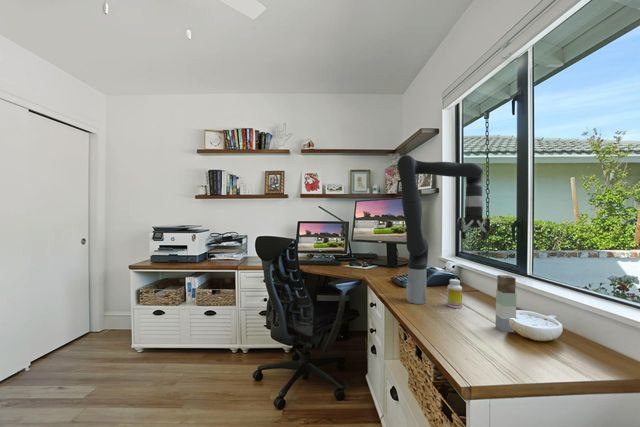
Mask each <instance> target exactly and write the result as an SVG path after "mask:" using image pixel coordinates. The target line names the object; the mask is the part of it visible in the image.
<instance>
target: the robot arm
mask: <svg viewBox="0 0 640 427" xmlns="http://www.w3.org/2000/svg"><path fill="white" fill-rule="evenodd" d="M396 166H397V171H398V175H399V179H400V186H401V189H400V190H401V203H402V210H403V217H404V224H405V228H406V232H405V233H406V234H405V235H406V249H407V251H408V253H409V255H408V256H409V257H408V261H407V281H406V291H405V292H406V296H405V297H406V298H405V299H406V301H407V303H409V304H410V303H411V304H414V305H425V304H426V303H427V271H428V270H427V268H428V267H427V266H428V261H429V260H428V259H429V257H428V256H429V244H428V242H427V240H426V239H425V238H424V237H423V233H422V232H423V231H422V216H423V209H422V208H423V207H422V201H421V200H422V199H421V196H420V191H419V187H418V184H417V180H416V175H430V176H431V175H432V176H442V177H450V178H458V177H462V178H465V182H466V183H465V184H466V187H465V200H464V218H462V217H457V223H456V231H459V232H460V238H461V240H463V241H465V240H467V238H466V231H467V230H468V228H478V229H479V230H480V240H481V241H485V240H486V236H487V235H486V233H487V232H490V231H491V219H490V218H488V217H487V218H484V217H483V211H484V210H483V208H484V204H483V203H484V200H483V199H484V198H483V186H482V183H483V182H482V181H483V180H482V179H483V172H484V167H483V166H482V165H481V164H479V163H476V162H461V163H460V162H454V161H453V162H452V161H451V162H450V161H432V162H429V161H421V160H416V159H414V157H412V156H411V155H407V154H406V155H402V156H401V157H400V158H399V159H398V161H397V164H396ZM462 223H464V224H462ZM482 223H484V225H483V224H482ZM462 225H463V226H462Z"/></svg>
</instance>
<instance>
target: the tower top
mask: <svg viewBox="0 0 640 427" xmlns="http://www.w3.org/2000/svg"><path fill="white" fill-rule="evenodd" d="M495 294H496V295H495V300H496V301H495V303H496V302H497V303H498V304H500V305H502V306H513V307H516V308H517V295H518V294H517V293H516V292H515V293H502V292H500V291H498V290H497V289H496V292H495Z"/></svg>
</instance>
